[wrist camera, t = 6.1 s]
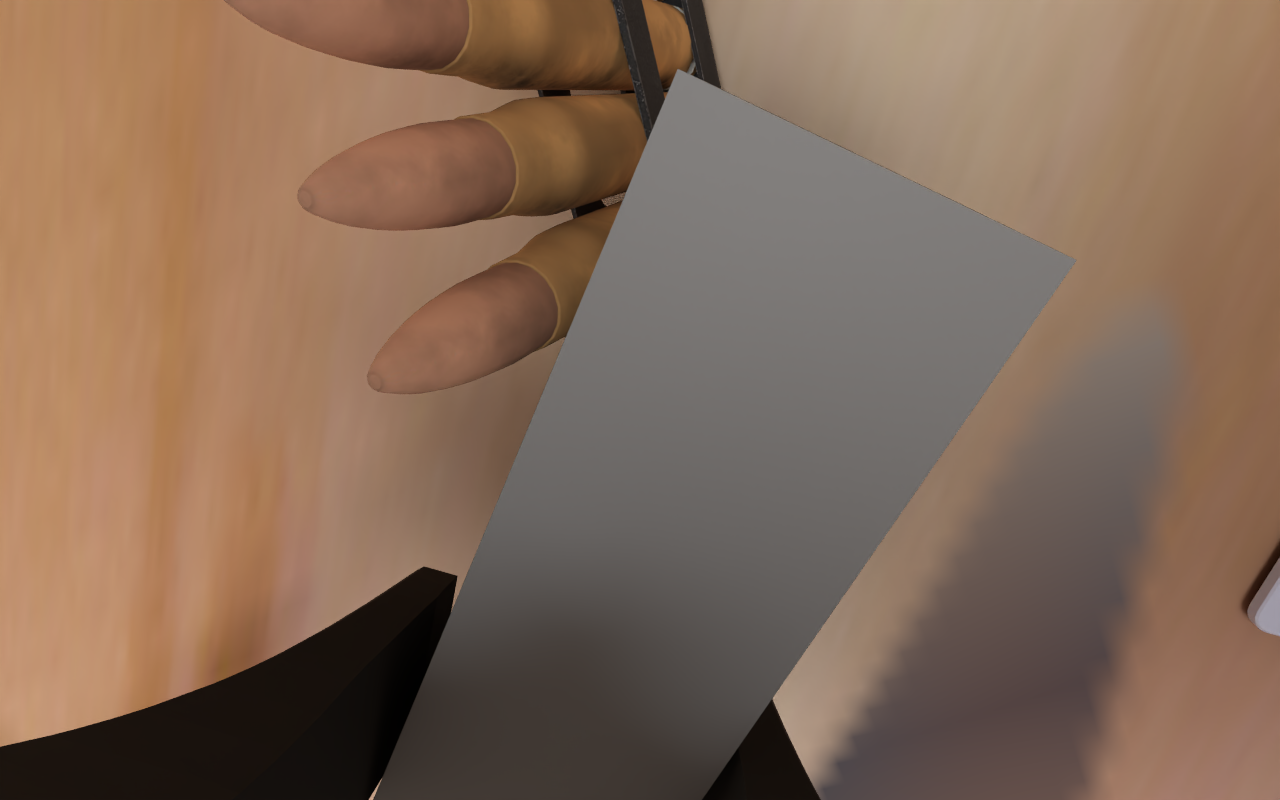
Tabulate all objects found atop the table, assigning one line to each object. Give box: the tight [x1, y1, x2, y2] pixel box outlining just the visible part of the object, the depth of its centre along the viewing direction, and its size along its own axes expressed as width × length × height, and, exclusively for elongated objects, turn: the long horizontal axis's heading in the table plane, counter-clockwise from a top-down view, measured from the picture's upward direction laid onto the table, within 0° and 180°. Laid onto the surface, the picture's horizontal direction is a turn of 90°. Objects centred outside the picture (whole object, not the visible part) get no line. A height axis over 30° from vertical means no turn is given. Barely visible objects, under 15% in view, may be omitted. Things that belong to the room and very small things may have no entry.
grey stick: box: [373, 69, 1076, 800], centre depth 13 cm, size 4×18×5 cm, turn 156°
